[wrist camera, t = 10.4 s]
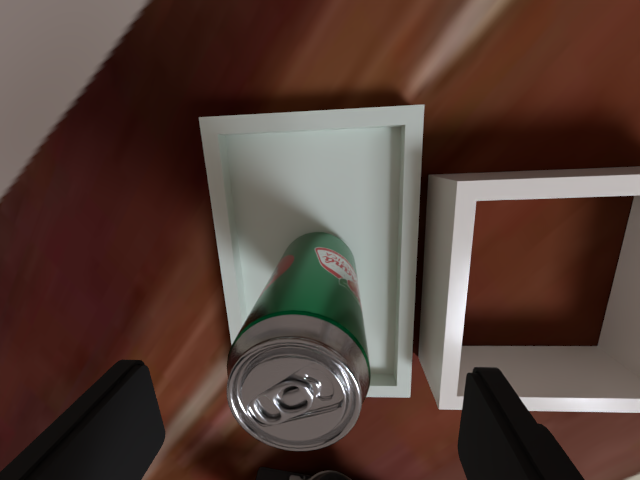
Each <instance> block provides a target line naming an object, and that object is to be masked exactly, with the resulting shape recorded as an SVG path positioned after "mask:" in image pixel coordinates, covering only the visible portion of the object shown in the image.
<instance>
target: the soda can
mask: <svg viewBox="0 0 640 480" xmlns="http://www.w3.org/2000/svg"><path fill="white" fill-rule="evenodd" d="M227 375H228V383H227V399H228V404H229V407H230V409H231V412H232V414H233V416H234V417H235V419H236V420H237V422H238V423H239V424H240V425H241V427H242V428H243V429H244V430H245V431H246V432H248V433H249V434H250V435H251V436H253V437H254V438H256V439H257V440H259V441H261V442H263V443H265V444H267V445H269V446H272V447H275V448H278V449H283V450H288V451H311V450H317V449H321V448H324V447H327V446H329V445H331V444H334V443H335V442H337V441H339V440H340V439H342V438H343V437H344V436H345V435H346V434H347V433H348V432H349V431H350V430H351V429H352V428H353V426H354V425H355V423H356V421H357V419H358V417H359V414H360V410H361V407H362V404H363V402H364V400H365V398H366V396H367V393H368V390H369V387H370V379H371V372H370V362H369V355H368V348H367V341H366V334H365V327H364V320H363V313H362V306H361V299H360V292H359V285H358V278H357V271H356V264H355V260H354V256H353V254H352V252H351V250H350V249H349V247H348V246H347V245H346V244H345V243H344V242H343V241H342V240H341V239H339V238H338V237H336V236H334V235H331V234H328V233H324V232H312V233H307V234H304V235H302V236H300V237H298V238H296V239H295V240H294V241H293V242H292V243H290V245H289V246H288V247H287V249H286V251H285V252H284V254H283V256H282V258H281V259H280V261H279V263H278V265H277V266H276V268H275V270H274V272H273V273H272V275H271V277H270V279H269V280H268V282H267V284H266V286H265V287H264V289H263V291H262V293H261V294H260V296H259V298H258V300H257V302H256V303H255V305H254V307H253V309H252V310H251V312H250V314H249V316H248V317H247V319H246V321H245V323H244V324H243V326H242V328H241V330H240V331H239V333H238V335H237V337H236V338H235V340H234V342H233V344H232V346H231V348H230V351H229V354H228V361H227Z"/></svg>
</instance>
